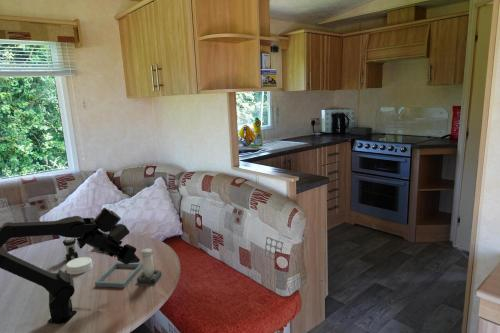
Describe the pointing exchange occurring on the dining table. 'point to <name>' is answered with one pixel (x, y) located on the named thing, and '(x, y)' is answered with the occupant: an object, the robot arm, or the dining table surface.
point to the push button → (70, 249)
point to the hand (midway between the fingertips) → (131, 257)
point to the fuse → (147, 263)
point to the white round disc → (79, 265)
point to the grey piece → (149, 279)
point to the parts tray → (118, 284)
